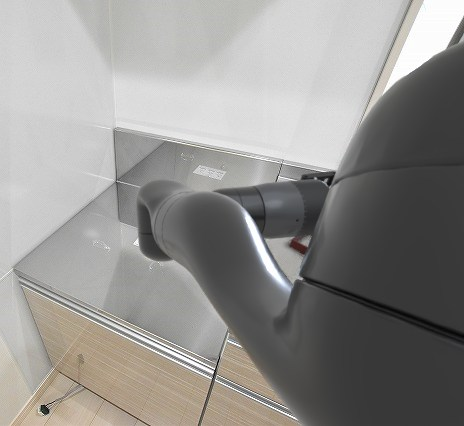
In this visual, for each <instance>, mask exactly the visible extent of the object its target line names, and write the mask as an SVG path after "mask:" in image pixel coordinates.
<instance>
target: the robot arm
mask: <svg viewBox="0 0 464 426" xmlns="http://www.w3.org/2000/svg"><path fill="white" fill-rule="evenodd" d="M337 166H338V167H337V169H336V171H335V170H330V171H329V170H328V171H322V172H321V171H320V172H312V173H304V174H301V177H300V179H298V180H297V179H296V180H285V181H272V182H264V183H260V184H255V185H244V186H231V187H222V188H216V189H213V190H211V191H207V190H194V188H192V187H191V186H189V185H188V184H186V183H184V182H182V181H180V180H177V179H176V180H175V179H172V178H155V179H151V180H148V181H147V182H144V183H143V184H142V185H141V186H140V187H139V188H138V190H137V192H136V195H135V201H134V202H135V203H134V204H135V212H136V213H135V214H136V215H135V216H136V227H137V240H138V247H139V250H140V253H141V254H142V255H143V256H144V257H145V258H147V259H149V260H151V261H154V262H161V263H164V262H165V263H166V262H170V261H171V262H172V261H174V262H176V263H177V264H179V265H180V266H182V267H183V268H184V269H186V270H187V271H188V272H189V273H190V275H191V276H192V277H193V278H194V280H195V282H196V283H197V284H198V286H199V287H200V289H201V291H202V292H203V293H204V296H206V298H207V300H208V301H209V303H210V304H211V306H212V307H213V309H214V310H215V312H216V313H217V315H218V316H219V317H220V319H221V320H222V321H223V323H224V324H225V326H226V327H227V328H228V330H229V331H230V332H231V334H232V335H233V338H234V339H235V340H236V341H237V343H238V344H239V345H240V347H241V348H242V350H243V351H244V353H245V354H246V356H248V358H249V359H250V361H251V362H252V363H253V365H254V366H255V368H256V369H257V371H258V372H259V373H260V375H261V377H262V378H263V379H264V380H265V382H266V383H267V384H268V386H269V387H270V388H271V389H272V391H273V392H274V394H275V395H276V396H277V398H278V399H279V400H280V401H281V402H282V403H283V405H284V406H285V407H286V408H287V409H288V411H289V412H290V413H291V414H292V415H293V416H294V418H295V419H296V420H297V421H298V423H300V425H301V426H464V40H463V41H460V42H457V43H455V44H453V45H451V46H449V47H447V48H445V49H443V50H442V51H439V52H438V53H435V54H434V55H432V56H431V57H429V58H428V59H426V60H425V61H423V62H422V63H420V65H418V66H416V67H415V68H414V69H412V70H411V71H409V72H407V73H406V74H405V75H403V76H402V77H400V78H399V79H398V80H396V81H395V82H394V83H393V84H392V85H391V86H390V87H389V88H388V89H386V91H385V92H384V93H383V94H382V95H381V96H380V97H379V98H378V99H377V100H376V101H375V103H374V104H373V105H372V106H371V108H370V109H369V111H368V113H367V114H366V116H365V118H364V119H363V120H362V122H361V123H360V124H359V126H358V128H357V129H356V131H355V133H354V135H353V136H352V138H351V139H350V142H349V143H348V145H347V147H346V150H345V152H344V153H343V156H342V158H341V160H340V162H339V164H338V165H337ZM325 180H326V182H325ZM297 236H304V237H308V236H311V237H310V239H309V242H308V244H307V246H306V247H307V250H306V252H305V255H304V254H303V258H302V261H301V264H300V266H299V268H298V270H297V275H298V277H300V278H302V279H299V278H296V279H294V281H293V283H292V281H291V280H290V279H289V277H288V276H287V275H286V273H285V272H284V271H283V270H282V268H281V266H280V265H279V263H278V262H277V260H276V258H275V256H274V255H273V253H272V251H271V249H270V247H269V245H268V242H267V241H266V239H267V240H273V239H276V240H277V239H284V238H294V237H297Z"/></svg>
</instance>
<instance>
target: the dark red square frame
mask: <svg viewBox="0 0 464 426" xmlns="http://www.w3.org/2000/svg"><path fill="white" fill-rule="evenodd" d="M304 237H305V236H297V237H292V239H291V240H290V243H289V247H290V248H292V249H293V250H296V251H297V252H299V253H301V254H302V255H303V256H304V255H305V252H306V250H307V247H308V246H307V245H305V244H303V243H301V242H299V241H300V240H301V239H303V238H304Z"/></svg>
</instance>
